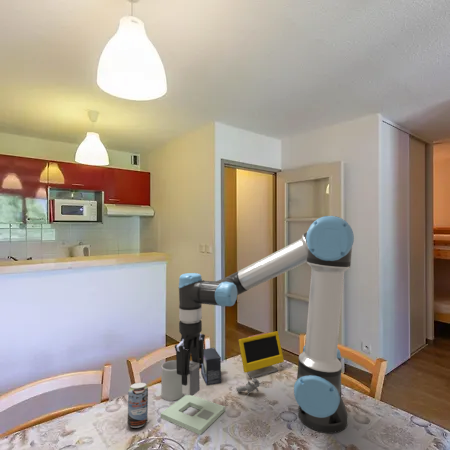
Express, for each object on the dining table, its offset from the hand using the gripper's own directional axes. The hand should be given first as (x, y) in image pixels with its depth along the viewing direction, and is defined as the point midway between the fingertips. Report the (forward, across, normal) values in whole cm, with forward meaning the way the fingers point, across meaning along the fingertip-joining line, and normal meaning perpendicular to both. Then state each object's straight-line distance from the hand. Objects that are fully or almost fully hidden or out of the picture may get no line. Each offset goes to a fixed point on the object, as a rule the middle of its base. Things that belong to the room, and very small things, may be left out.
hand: (190, 390), depth 101 cm
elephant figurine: (+8, -20, +11) cm, 24 cm away
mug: (+8, -7, -14) cm, 17 cm away
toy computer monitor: (+8, -39, +7) cm, 40 cm away
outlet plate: (+8, 0, +1) cm, 8 cm away
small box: (+8, -23, -8) cm, 26 cm away
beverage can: (+8, +13, -11) cm, 19 cm away
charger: (0, 0, 0) cm, 0 cm away
